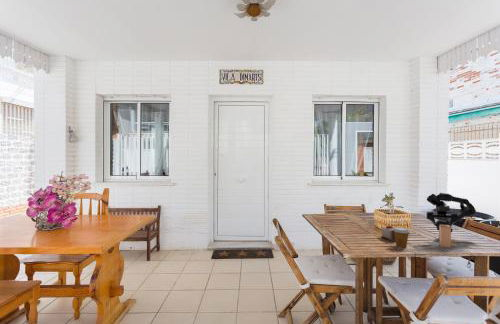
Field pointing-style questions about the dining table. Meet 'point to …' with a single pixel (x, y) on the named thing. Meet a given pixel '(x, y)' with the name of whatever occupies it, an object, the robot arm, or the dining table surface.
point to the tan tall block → (445, 236)
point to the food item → (388, 233)
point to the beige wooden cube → (453, 242)
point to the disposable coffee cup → (401, 236)
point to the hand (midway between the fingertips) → (443, 226)
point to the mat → (458, 246)
